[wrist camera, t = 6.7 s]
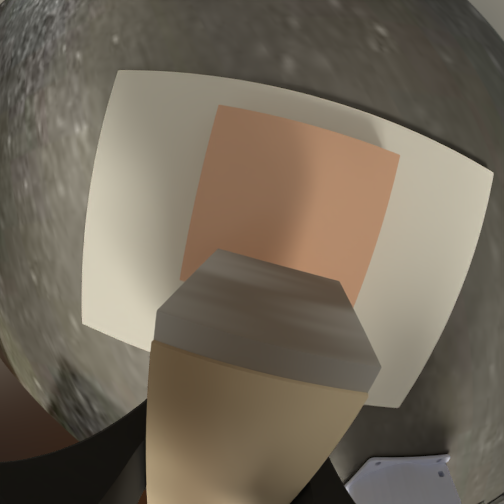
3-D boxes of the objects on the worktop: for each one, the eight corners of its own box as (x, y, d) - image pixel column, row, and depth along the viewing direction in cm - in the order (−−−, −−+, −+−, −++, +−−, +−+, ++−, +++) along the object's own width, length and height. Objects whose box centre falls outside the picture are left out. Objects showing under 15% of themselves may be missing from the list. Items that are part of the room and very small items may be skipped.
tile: (340, 308, 15) (386, 157, 13) (346, 324, 13) (400, 154, 11) (190, 268, 15) (226, 113, 13) (179, 279, 13) (218, 104, 11)
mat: (488, 172, 12) (493, 173, 12) (396, 403, 16) (398, 407, 16) (122, 72, 13) (118, 70, 13) (86, 320, 17) (82, 323, 17)
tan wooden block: (338, 279, 9) (383, 370, 4) (256, 467, 12) (244, 547, 7) (218, 247, 9) (154, 313, 5) (179, 447, 12) (148, 523, 7)
